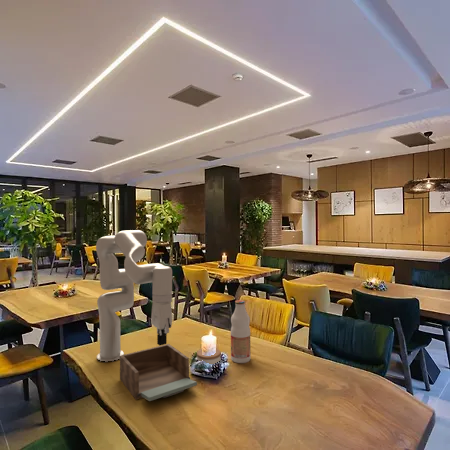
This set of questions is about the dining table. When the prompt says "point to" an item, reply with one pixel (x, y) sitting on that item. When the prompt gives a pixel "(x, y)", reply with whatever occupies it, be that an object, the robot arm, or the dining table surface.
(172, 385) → the panel
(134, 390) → the crate
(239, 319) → the fruit juice
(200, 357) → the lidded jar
